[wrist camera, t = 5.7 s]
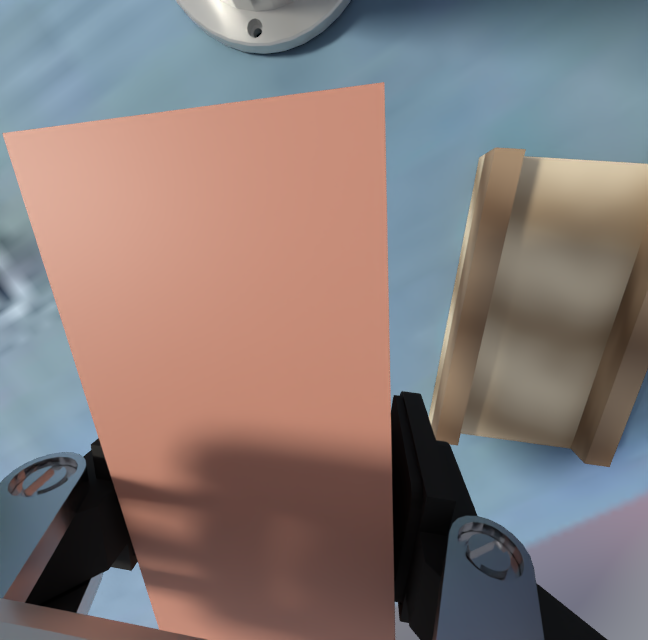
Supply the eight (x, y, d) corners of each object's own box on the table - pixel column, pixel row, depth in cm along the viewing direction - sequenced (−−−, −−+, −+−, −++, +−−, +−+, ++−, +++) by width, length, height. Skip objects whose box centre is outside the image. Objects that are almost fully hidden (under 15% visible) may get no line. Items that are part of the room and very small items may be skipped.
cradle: (479, 157, 19) (495, 147, 17) (680, 170, 18) (728, 161, 16) (427, 421, 24) (434, 442, 22) (584, 442, 23) (609, 467, 21)
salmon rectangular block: (191, 179, 9) (2, 133, 4) (372, 160, 8) (384, 82, 4) (264, 592, 14) (211, 792, 9) (385, 601, 13) (398, 822, 8)
